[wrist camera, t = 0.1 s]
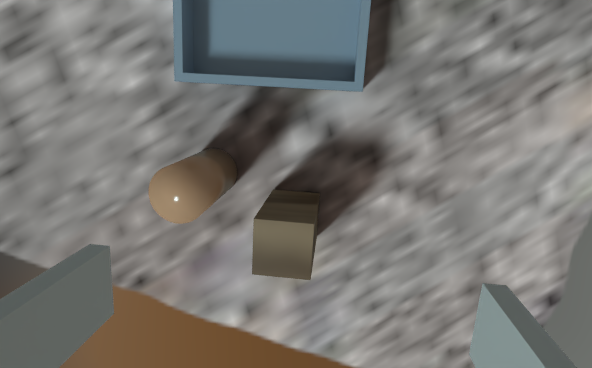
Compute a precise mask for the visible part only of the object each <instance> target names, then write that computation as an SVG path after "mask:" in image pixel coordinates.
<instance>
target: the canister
mask: <svg viewBox="0 0 592 368" xmlns="http://www.w3.org/2000/svg"><path fill="white" fill-rule="evenodd" d="M236 178H237V167H236V164H235V162H234V160H233V159H232V157H231V156H230V155H229V154H228V153H226V152H225V151H223V150H220V149H215V148H211V149H206V150H204V151H201V152H199V153H197V154H195V155H192V156H190V157H188V158H185V159H183V160H181V161H178V162H176V163H174V164H171V165H169V166H167V167H164V168H162V169H161V170H159V171H158V172H157V173H156V174H155V175H154V176H153V178H152V179H151V182H150V185H149V199H150V202H151V204H152V206H153V208H154V210H155V211H156V212H157V213H158V214H159V215H160V216H161V217H162V218H164V219H165V220H167V221H170V222H173V223H179V224H182V223H188V222H191V221H193V220H195V219H196V218H198V217H199V216H200V215H201V214H202V213H203V212H204V211H206V210H207V209H208V208H209V207H210V206H211V205H212V204H213V203H215V202H216V201H217V200H218V199H219V198H220V197H221V196H222V195H224V194H225V193H226V192H227V191H228V190H229V189H230V188H231V187H232V186H233V185H234V183H235V181H236Z"/></svg>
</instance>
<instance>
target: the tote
mask: <svg viewBox="0 0 592 368" xmlns="http://www.w3.org/2000/svg"><path fill="white" fill-rule="evenodd" d="M370 6H371V0H173V23H174V76H175V81H179V82H195V83H213V84H231V85H250V86H268V87H286V88H304V89H322V90H340V91H359V92H362V91H363V82H364V71H365V60H366V49H367V38H368V28H369V17H370Z"/></svg>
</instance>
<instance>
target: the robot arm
mask: <svg viewBox="0 0 592 368" xmlns="http://www.w3.org/2000/svg"><path fill="white" fill-rule="evenodd" d="M113 314H114V307H113V292H112V275H111V259H110V246H104V245H94V244H89V245H88V246H86V247H84V248H83V249H81V250H79V251H78V252H76V253H75V254H73V255H71V256H70V257H68V258H66V259H65V260H63V261H62V262H60V263H58V264H57V265H55V266H53V267H52V268H50V269H49V270H47V271H45V272H44V273H42V274H40V275H39V276H37V277H36V278H34V279H32V280H31V281H29V282H27V283H26V284H24V285H23V286H21V287H19V288H18V289H16V290H14V291H13V292H11V293H10V294H8V295H6V296H5V297H3V298H2V299H0V368H59V367H60V366H61V365H62V364H63V363H64V362H65V361H66V360H67V359H68V358H69V357H70V356H71V355H72V354H73V353H74V352H75V351H76V350H77V349H78V348H79V347H80V346H81V345H82V344H83V343H84V342H85V341H86V340H87V339H88V338H89V337H90V336H91V335H92V334H93V333H94V332H95V331H96V330H97V329H98V328H100V326H102V325H103V324H104V323H105V321H107V320H108V319H109V318H110V317H111V316H112V315H113ZM469 355H470V357H471V359H472V361H473V363H474V365H475V367H476V368H577V367H576V366H575V365H574V364H573V362H572V361H571V360H570V359H569V358H568V357H567V356H566V354H565V353H564V352H563V351H562V350H561V348H560V347H559V346H558V345H557V344H556V343H555V341H554V340H553V339H552V338H551V337H550V336H549V335H548V333H547V332H546V331H545V330H544V329H543V327H542V326H541V325H540V324H539V323H538V322H537V320H536V319H535V318H534V317H533V316H532V315H531V313H530V312H529V311H528V310H527V309H526V308H525V306H524V305H523V304H522V303H521V302H520V301H519V299H518V298H517V297H516V296H515V295H514V294H513V292H512V291H511V290H510V289H509V288H508V287H507V286H506V285H496V284H486V283H483V284H482V289H481V295H480V300H479V305H478V311H477V316H476V321H475V327H474V332H473V337H472V342H471V348H470V353H469Z"/></svg>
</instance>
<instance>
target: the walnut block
mask: <svg viewBox="0 0 592 368" xmlns="http://www.w3.org/2000/svg"><path fill="white" fill-rule="evenodd" d="M319 198H320V193H312V192H300V191H287V190H274V189H273V191H272V192H271V194H270V195H269V197H268V198H267V200H266V201H265V203H264V204H263V206H262V207H261V209H260V210H259V212H258V213H257V215H256V216H255V218H254V229H253V263H252V274H255V275H265V276H275V277H285V278H295V279H305V280H310V279H311V272H312V265H313V259H314V252H315V245H316V239H317V226H318V212H319Z"/></svg>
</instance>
